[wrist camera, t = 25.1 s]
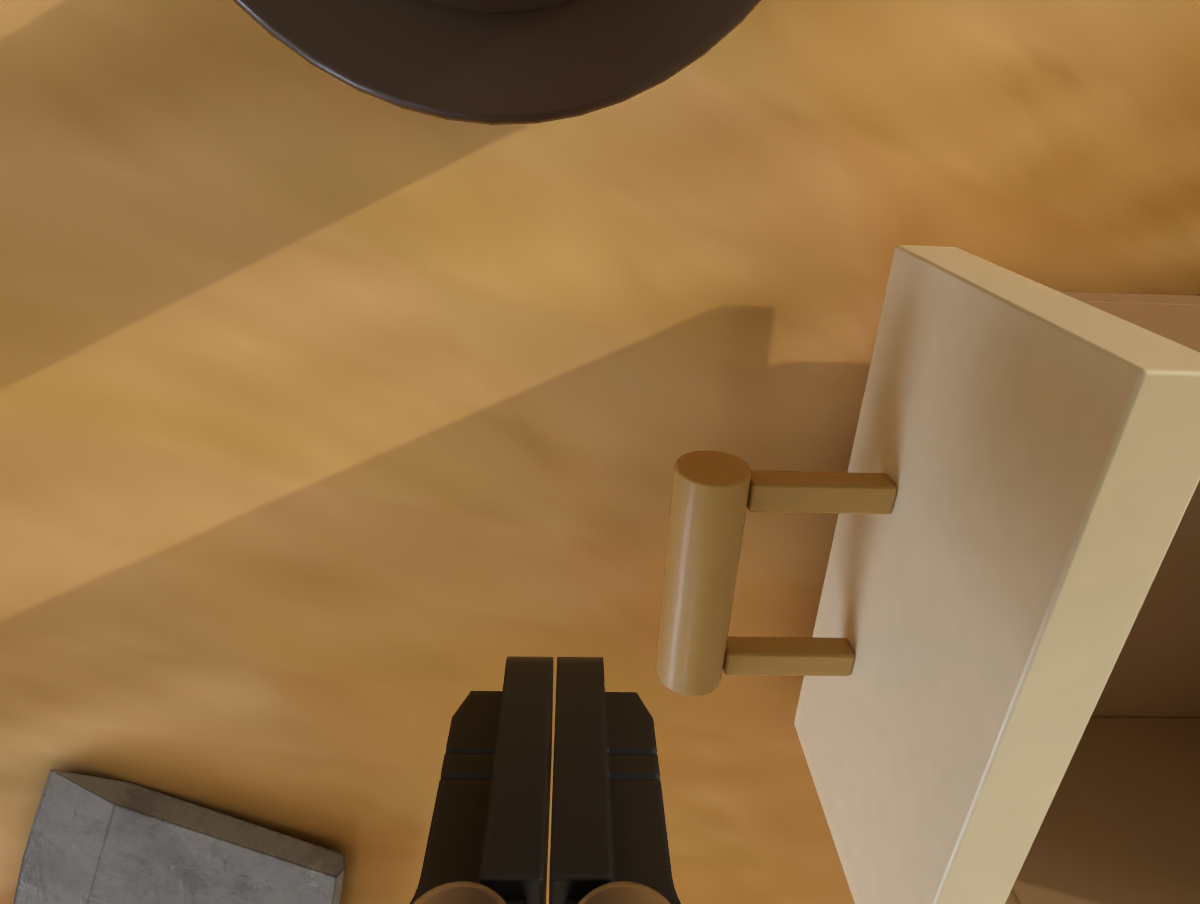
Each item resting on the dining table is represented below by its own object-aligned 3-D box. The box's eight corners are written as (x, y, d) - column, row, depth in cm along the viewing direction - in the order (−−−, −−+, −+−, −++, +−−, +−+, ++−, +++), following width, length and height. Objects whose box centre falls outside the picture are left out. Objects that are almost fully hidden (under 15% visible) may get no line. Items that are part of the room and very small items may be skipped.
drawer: (638, 722, 19) (665, 1018, 13) (678, 237, 14) (758, 360, 8) (1284, 725, 20) (1594, 1007, 14) (1571, 266, 14) (2300, 399, 8)
